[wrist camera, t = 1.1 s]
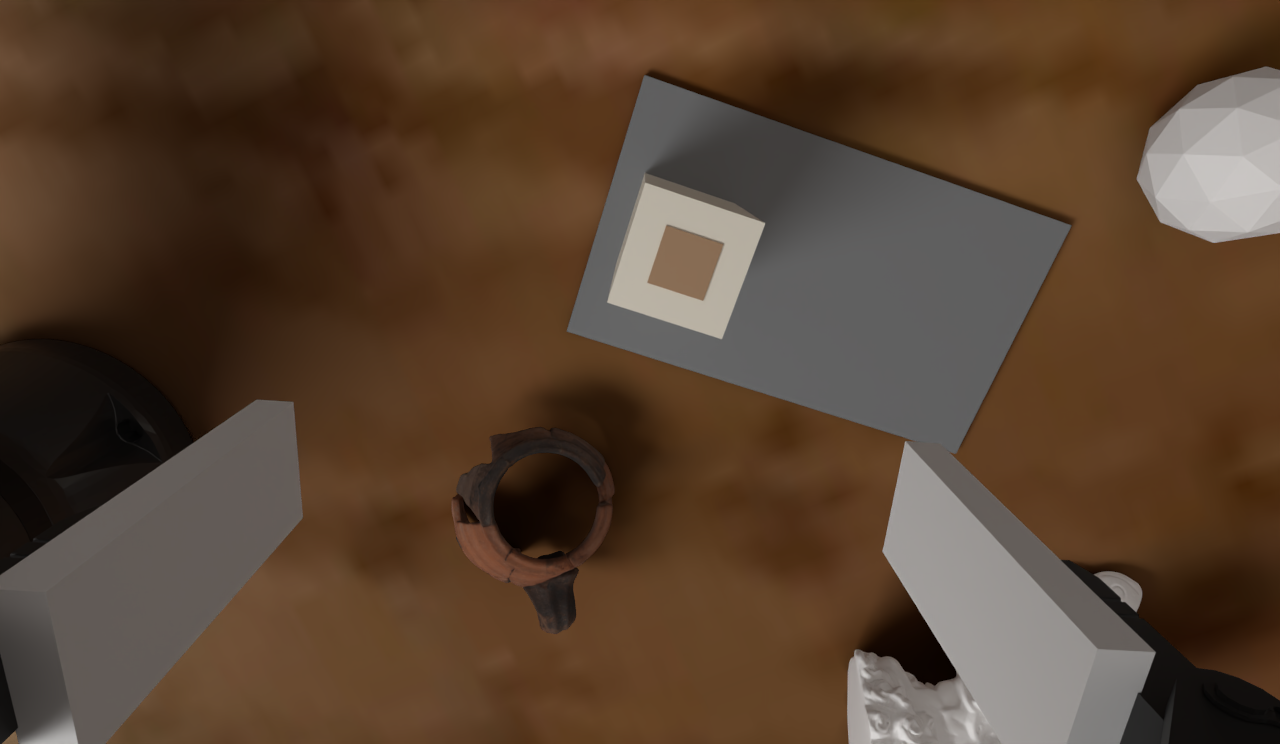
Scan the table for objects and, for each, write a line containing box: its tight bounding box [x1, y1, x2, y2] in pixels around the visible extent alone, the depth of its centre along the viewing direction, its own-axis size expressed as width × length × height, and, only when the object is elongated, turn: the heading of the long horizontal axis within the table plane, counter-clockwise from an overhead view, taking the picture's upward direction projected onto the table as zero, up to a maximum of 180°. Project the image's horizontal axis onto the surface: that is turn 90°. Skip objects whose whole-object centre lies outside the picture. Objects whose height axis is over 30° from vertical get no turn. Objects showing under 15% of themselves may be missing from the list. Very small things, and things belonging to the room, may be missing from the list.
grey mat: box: [567, 75, 1072, 454], centre depth 39 cm, size 24×14×1 cm, turn 72°
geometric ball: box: [1137, 66, 1280, 243], centre depth 33 cm, size 8×8×8 cm
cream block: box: [607, 173, 765, 339], centre depth 33 cm, size 5×5×10 cm
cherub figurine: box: [847, 571, 1142, 744], centre depth 41 cm, size 13×12×20 cm
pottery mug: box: [452, 427, 615, 634], centre depth 41 cm, size 12×10×8 cm
